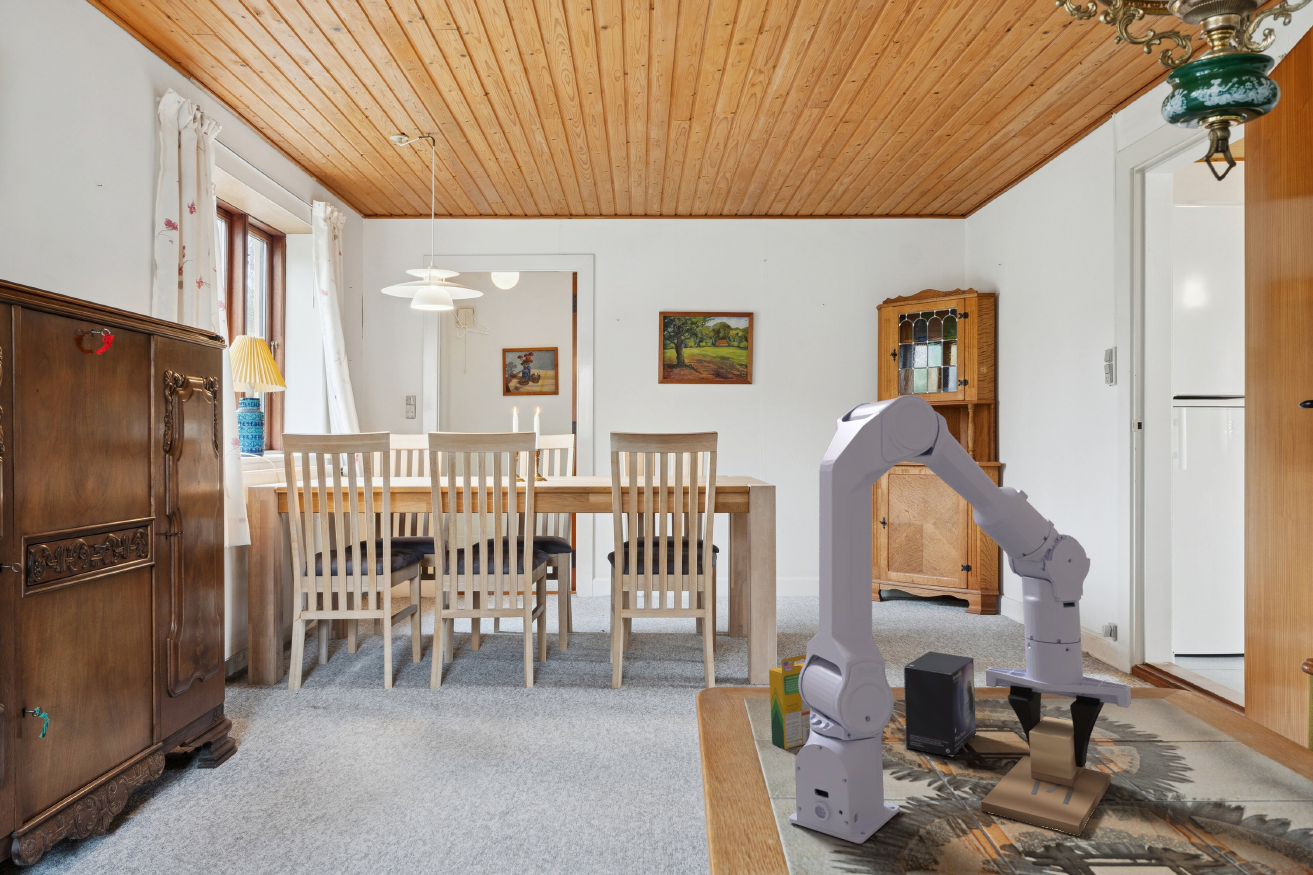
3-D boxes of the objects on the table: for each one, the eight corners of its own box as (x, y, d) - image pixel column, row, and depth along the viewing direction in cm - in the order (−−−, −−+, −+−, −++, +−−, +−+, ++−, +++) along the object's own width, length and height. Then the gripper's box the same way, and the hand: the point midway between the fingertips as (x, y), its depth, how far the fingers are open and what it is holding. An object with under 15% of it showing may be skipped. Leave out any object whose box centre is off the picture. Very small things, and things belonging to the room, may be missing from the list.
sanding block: (1071, 786, 81) (1068, 739, 81) (1031, 777, 84) (1029, 731, 84) (1085, 767, 86) (1083, 722, 87) (1047, 759, 89) (1045, 716, 89)
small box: (956, 759, 92) (952, 673, 93) (904, 749, 96) (900, 666, 97) (979, 734, 101) (975, 655, 101) (930, 726, 105) (926, 649, 105)
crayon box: (812, 732, 103) (809, 647, 104) (827, 739, 101) (824, 651, 101) (770, 743, 99) (767, 654, 100) (785, 750, 97) (782, 659, 98)
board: (1078, 836, 72) (1078, 825, 72) (981, 811, 78) (981, 801, 78) (1110, 782, 84) (1110, 773, 85) (1024, 764, 90) (1024, 755, 90)
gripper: (1132, 639, 84) (1139, 763, 84) (996, 625, 94) (1001, 736, 93) (1121, 651, 79) (1128, 784, 78) (977, 635, 88) (983, 753, 88)
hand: (1058, 759), depth 85 cm, fingers closed on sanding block, 4 cm apart
